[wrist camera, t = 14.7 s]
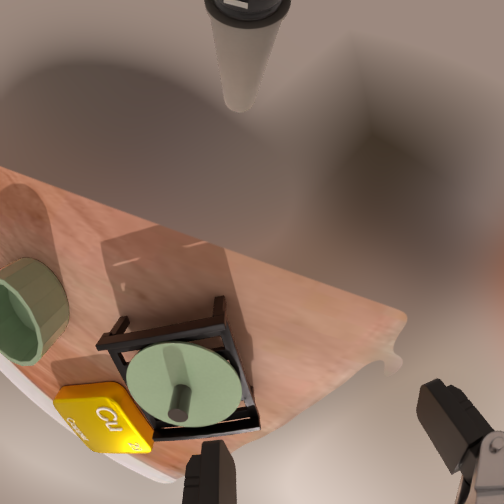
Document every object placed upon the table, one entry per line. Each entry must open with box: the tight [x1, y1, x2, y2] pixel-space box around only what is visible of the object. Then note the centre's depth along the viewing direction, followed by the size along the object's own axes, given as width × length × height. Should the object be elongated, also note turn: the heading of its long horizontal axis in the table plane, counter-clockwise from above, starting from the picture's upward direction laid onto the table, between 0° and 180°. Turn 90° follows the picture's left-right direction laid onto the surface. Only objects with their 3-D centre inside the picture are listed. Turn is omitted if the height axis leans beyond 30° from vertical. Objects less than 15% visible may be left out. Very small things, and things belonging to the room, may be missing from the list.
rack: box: [96, 296, 261, 441], centre depth 37 cm, size 18×16×8 cm
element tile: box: [53, 382, 154, 454], centre depth 41 cm, size 15×15×5 cm
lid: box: [126, 341, 242, 427], centre depth 32 cm, size 15×15×6 cm
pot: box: [0, 258, 69, 366], centre depth 33 cm, size 14×14×8 cm
